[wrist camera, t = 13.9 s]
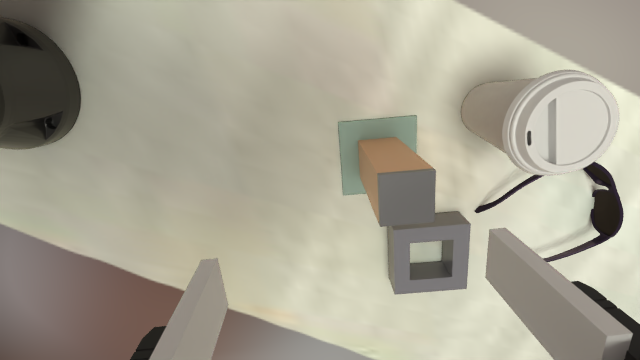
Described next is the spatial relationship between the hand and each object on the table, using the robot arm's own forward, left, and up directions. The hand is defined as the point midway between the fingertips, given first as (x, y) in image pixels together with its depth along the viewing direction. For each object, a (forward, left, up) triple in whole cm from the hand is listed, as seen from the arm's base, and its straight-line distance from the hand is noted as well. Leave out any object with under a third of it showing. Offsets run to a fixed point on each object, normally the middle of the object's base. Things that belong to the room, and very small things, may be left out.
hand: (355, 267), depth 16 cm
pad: (+6, -2, -29) cm, 30 cm away
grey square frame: (+12, -16, -29) cm, 36 cm away
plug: (+6, -2, -29) cm, 29 cm away
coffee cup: (+20, +3, -29) cm, 36 cm away
